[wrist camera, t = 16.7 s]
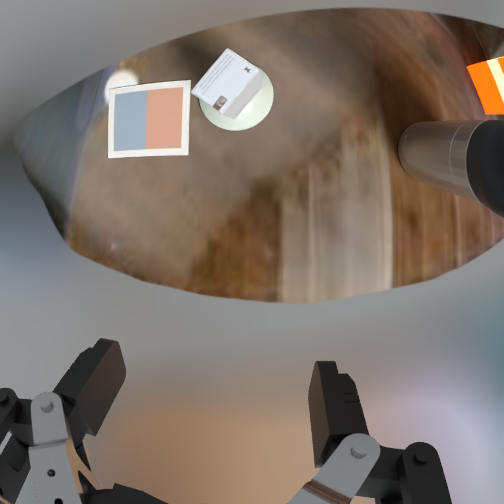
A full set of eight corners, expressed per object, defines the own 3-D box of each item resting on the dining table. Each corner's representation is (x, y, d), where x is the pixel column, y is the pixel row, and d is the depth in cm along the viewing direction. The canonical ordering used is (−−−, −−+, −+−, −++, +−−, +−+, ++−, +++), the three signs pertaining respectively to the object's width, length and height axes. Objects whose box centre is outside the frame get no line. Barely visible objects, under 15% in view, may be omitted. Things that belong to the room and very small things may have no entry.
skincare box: (238, 70, 35) (226, 43, 23) (264, 89, 36) (262, 67, 24) (209, 104, 37) (186, 89, 25) (235, 123, 38) (221, 114, 26)
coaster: (274, 64, 35) (274, 62, 34) (271, 132, 38) (271, 131, 38) (202, 63, 35) (201, 62, 35) (199, 130, 39) (197, 130, 38)
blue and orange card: (191, 80, 36) (190, 80, 36) (188, 154, 40) (187, 154, 40) (110, 89, 37) (109, 89, 37) (108, 158, 41) (108, 158, 40)
